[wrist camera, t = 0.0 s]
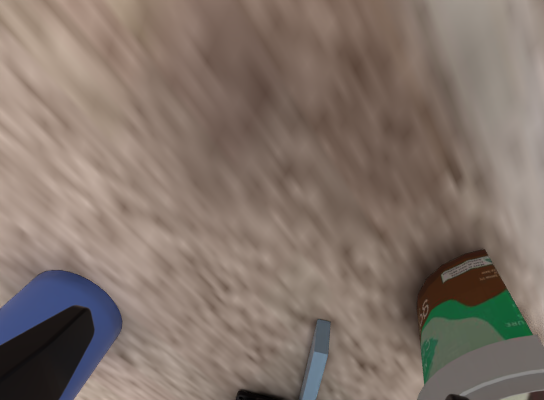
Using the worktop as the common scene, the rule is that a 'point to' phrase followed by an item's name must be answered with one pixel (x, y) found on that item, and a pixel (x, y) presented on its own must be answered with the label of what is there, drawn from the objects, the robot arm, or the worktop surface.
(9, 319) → the water bottle
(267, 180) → the worktop surface
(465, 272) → the food container
